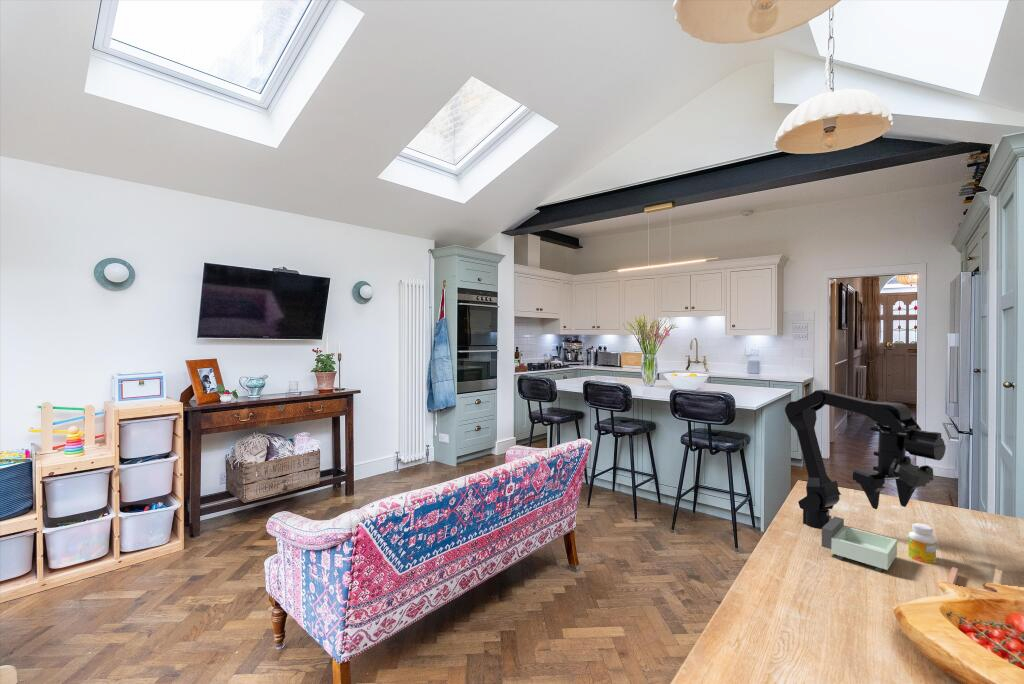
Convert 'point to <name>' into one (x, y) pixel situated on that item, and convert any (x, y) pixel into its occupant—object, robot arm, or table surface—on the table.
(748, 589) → the table surface
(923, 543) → the supplement bottle
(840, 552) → the pale green bin
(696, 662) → the table surface
